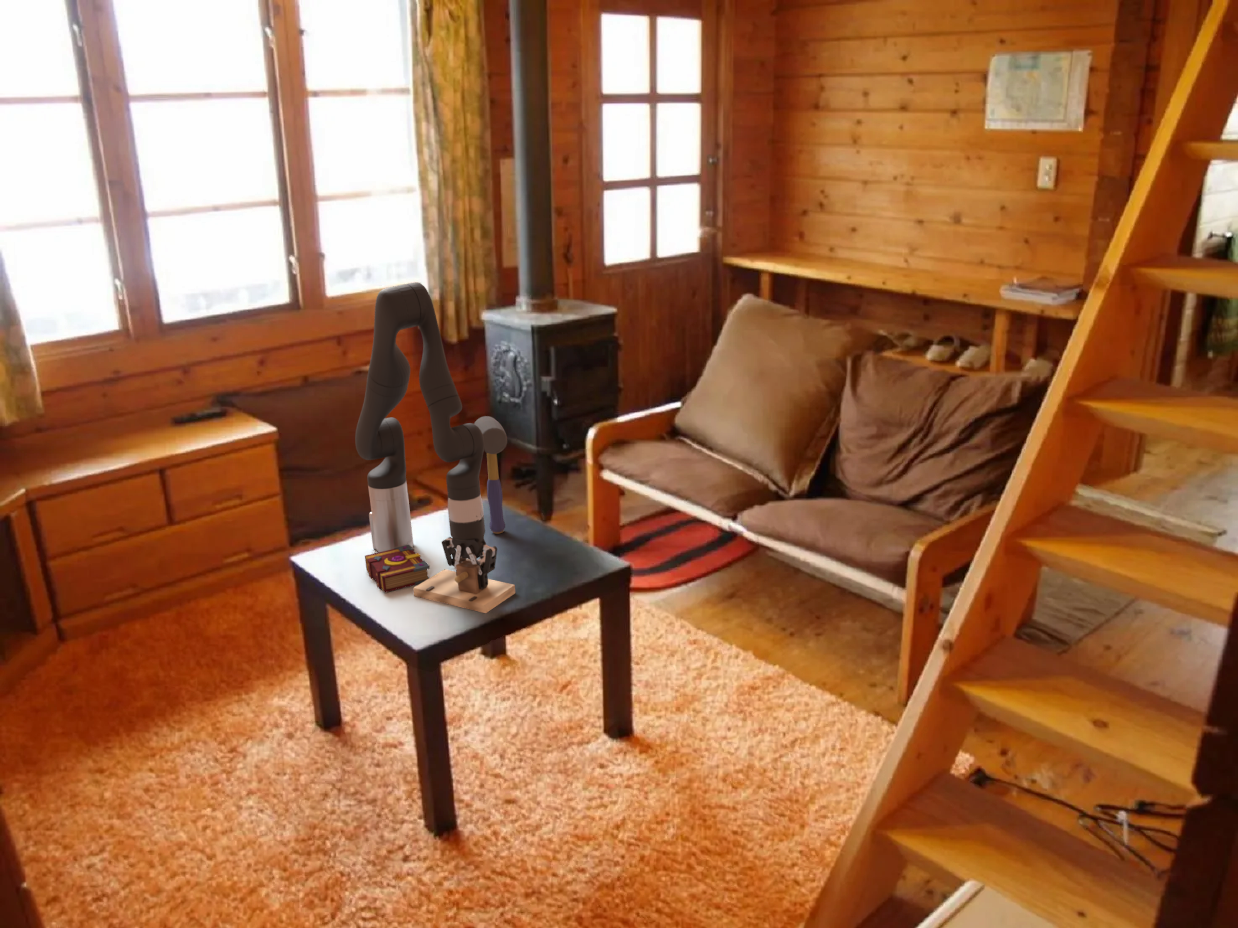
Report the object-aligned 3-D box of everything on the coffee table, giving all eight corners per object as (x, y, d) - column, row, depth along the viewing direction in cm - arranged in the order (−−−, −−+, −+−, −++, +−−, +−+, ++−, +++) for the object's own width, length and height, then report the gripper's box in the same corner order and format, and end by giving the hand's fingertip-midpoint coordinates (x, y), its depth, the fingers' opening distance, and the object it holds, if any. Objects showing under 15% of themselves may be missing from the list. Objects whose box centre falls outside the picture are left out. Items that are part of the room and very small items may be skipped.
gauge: (450, 595, 230) (447, 570, 228) (477, 577, 238) (475, 553, 236) (468, 599, 227) (465, 574, 225) (495, 581, 235) (493, 557, 233)
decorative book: (384, 595, 237) (381, 575, 235) (364, 570, 250) (361, 551, 248) (431, 583, 242) (429, 563, 240) (409, 559, 255) (407, 540, 253)
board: (414, 595, 235) (413, 586, 234) (445, 577, 244) (444, 568, 243) (485, 613, 225) (484, 603, 224) (515, 592, 234) (514, 583, 233)
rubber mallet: (517, 538, 264) (508, 425, 254) (487, 543, 262) (477, 428, 252) (507, 521, 275) (498, 412, 266) (479, 526, 273) (469, 415, 264)
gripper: (429, 515, 227) (437, 586, 233) (482, 525, 220) (488, 598, 226) (451, 504, 233) (458, 573, 239) (503, 513, 226) (509, 585, 232)
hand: (473, 585), depth 232 cm, fingers closed on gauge, 5 cm apart
